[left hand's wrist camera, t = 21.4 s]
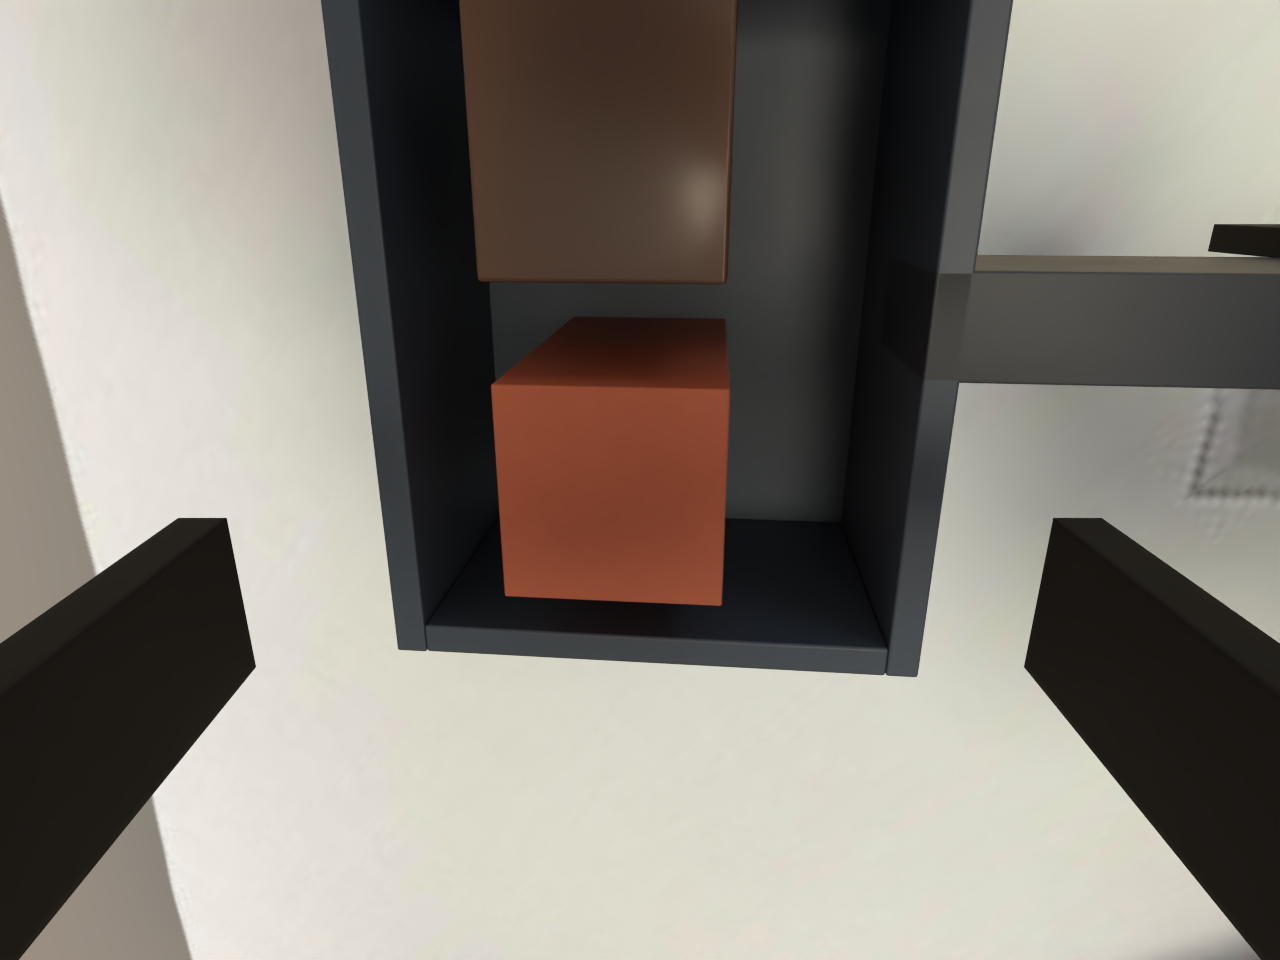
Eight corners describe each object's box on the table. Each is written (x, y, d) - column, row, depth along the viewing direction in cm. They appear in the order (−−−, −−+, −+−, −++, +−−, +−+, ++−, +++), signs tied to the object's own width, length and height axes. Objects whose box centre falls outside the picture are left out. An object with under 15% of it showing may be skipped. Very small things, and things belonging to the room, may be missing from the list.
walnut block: (567, 250, 25) (476, 282, 16) (561, 76, 23) (457, -5, 14) (723, 251, 25) (727, 285, 15) (730, 74, 23) (738, -12, 14)
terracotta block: (577, 460, 27) (504, 596, 18) (573, 316, 26) (490, 384, 16) (720, 465, 27) (722, 606, 18) (726, 318, 25) (730, 389, 16)
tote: (489, 520, 29) (397, 650, 21) (451, -21, 24) (302, -144, 15) (1263, 550, 27) (1510, 710, 19) (1440, -45, 21) (1920, -206, 13)
